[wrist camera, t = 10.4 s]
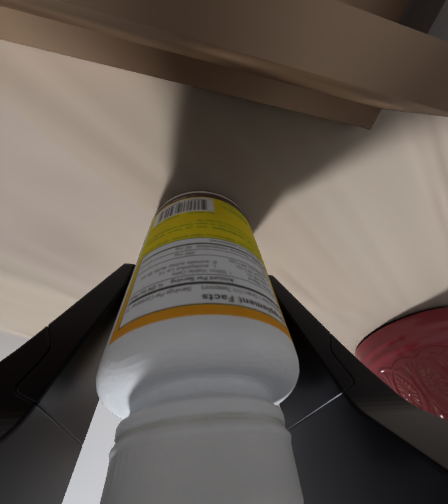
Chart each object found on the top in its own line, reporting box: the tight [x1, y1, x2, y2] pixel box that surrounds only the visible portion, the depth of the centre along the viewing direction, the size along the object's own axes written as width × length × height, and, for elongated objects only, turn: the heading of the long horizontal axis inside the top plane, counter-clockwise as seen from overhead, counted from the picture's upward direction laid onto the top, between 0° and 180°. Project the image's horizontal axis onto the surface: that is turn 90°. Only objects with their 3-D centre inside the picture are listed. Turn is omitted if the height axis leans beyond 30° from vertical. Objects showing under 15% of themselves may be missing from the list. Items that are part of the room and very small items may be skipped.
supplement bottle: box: [96, 191, 304, 504], centre depth 8 cm, size 6×6×10 cm
